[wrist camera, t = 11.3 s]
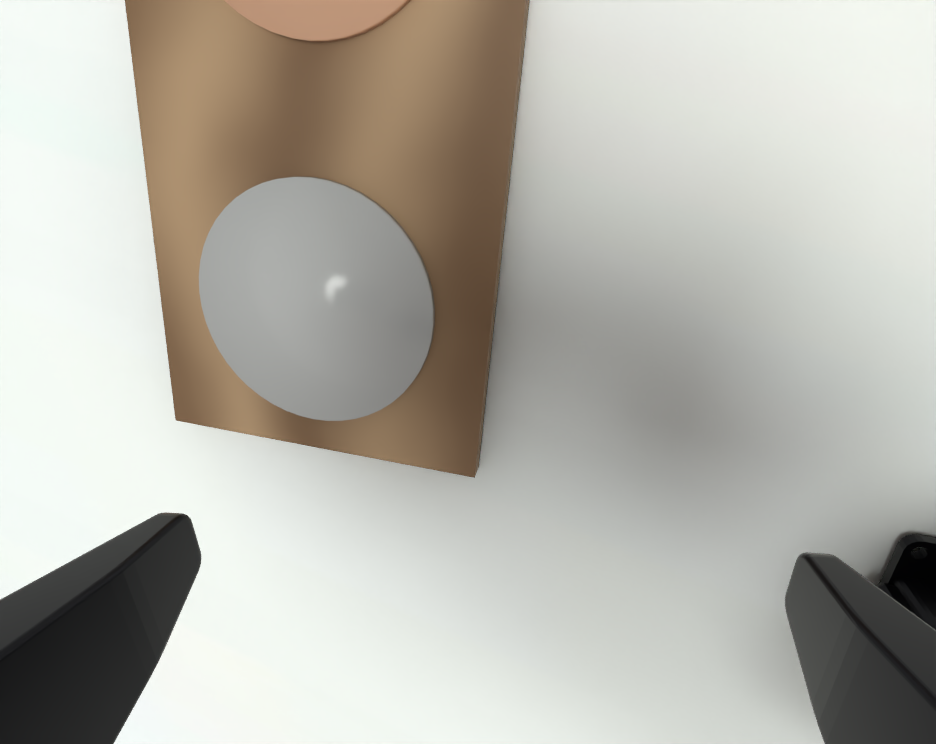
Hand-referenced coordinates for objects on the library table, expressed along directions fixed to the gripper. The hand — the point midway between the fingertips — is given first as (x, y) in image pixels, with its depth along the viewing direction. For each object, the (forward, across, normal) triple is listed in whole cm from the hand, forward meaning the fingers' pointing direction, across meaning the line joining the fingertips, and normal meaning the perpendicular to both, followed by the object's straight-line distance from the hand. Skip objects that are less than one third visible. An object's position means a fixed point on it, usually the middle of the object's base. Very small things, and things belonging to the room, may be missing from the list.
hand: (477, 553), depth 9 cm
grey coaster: (+13, +7, +1) cm, 15 cm away
